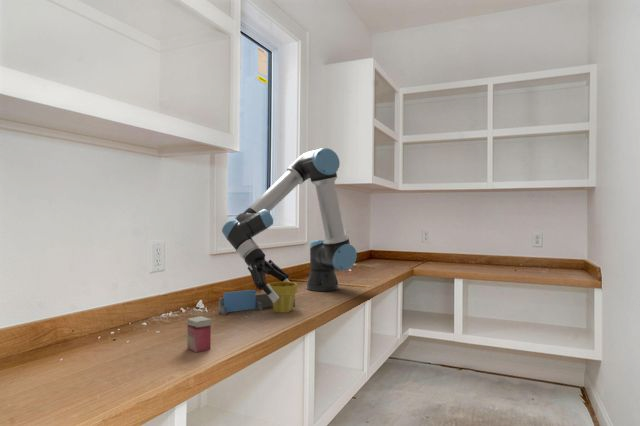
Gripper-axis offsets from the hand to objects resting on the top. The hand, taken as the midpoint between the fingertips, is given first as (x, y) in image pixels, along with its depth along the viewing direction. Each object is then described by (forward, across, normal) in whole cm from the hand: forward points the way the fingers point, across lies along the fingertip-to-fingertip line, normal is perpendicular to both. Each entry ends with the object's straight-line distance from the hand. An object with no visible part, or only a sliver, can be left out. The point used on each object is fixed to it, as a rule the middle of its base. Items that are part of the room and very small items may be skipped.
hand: (286, 297), depth 150 cm
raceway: (-4, +1, -12) cm, 12 cm away
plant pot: (+3, 0, -5) cm, 6 cm away
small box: (+4, +47, -4) cm, 47 cm away
